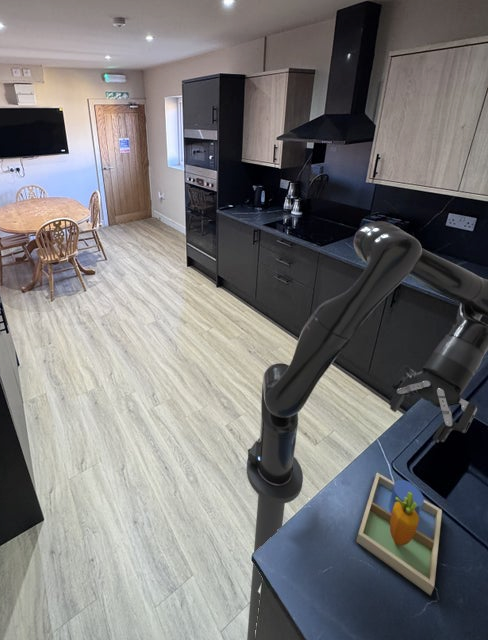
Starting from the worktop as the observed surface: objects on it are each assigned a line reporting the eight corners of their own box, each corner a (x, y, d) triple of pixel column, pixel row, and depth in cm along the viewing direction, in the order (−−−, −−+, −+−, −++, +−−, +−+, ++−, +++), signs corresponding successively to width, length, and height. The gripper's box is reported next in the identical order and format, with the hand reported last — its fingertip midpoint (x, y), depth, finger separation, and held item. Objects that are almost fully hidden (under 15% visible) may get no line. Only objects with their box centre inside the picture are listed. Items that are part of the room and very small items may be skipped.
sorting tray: (356, 542, 74) (358, 533, 73) (374, 480, 87) (376, 472, 86) (430, 596, 65) (434, 586, 64) (439, 518, 78) (442, 510, 77)
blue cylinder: (386, 513, 79) (391, 494, 76) (391, 493, 83) (396, 474, 81) (415, 532, 75) (422, 512, 73) (419, 510, 79) (425, 491, 77)
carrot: (400, 562, 70) (414, 516, 65) (379, 537, 74) (391, 492, 69) (414, 550, 72) (430, 505, 67) (393, 527, 76) (406, 482, 71)
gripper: (414, 338, 74) (375, 397, 72) (493, 377, 62) (448, 449, 60) (421, 350, 78) (384, 406, 76) (496, 389, 66) (454, 456, 65)
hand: (412, 424), depth 68 cm, fingers open, 8 cm apart
